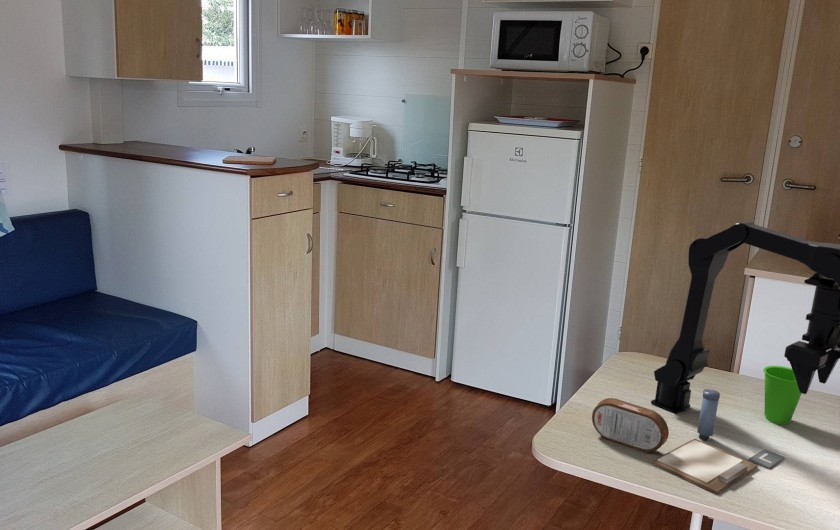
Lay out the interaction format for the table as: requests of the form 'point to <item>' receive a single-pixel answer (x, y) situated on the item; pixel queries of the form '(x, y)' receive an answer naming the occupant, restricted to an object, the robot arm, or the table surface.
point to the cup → (780, 394)
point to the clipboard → (705, 465)
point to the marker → (708, 414)
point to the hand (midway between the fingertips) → (812, 388)
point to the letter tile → (766, 458)
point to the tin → (630, 424)
